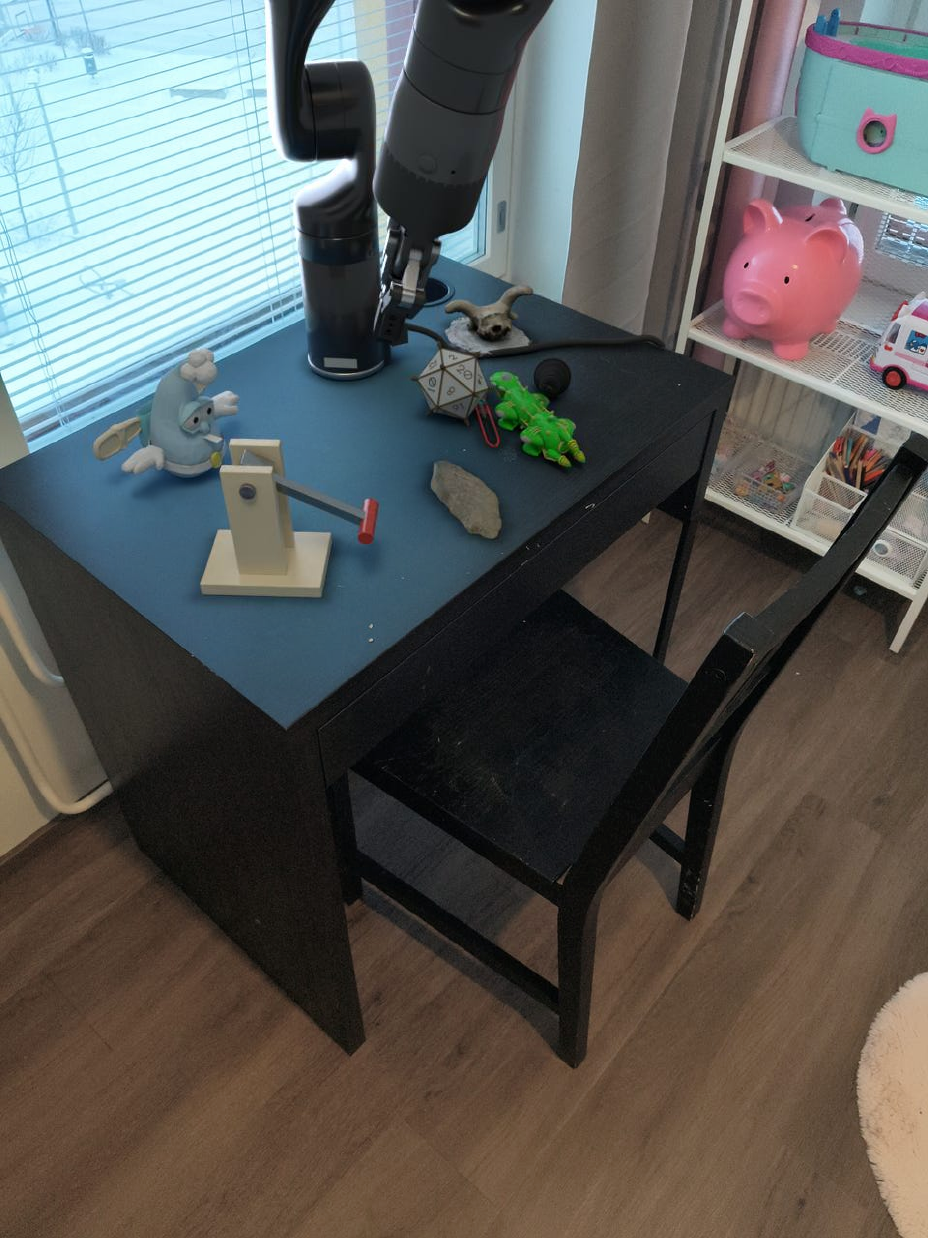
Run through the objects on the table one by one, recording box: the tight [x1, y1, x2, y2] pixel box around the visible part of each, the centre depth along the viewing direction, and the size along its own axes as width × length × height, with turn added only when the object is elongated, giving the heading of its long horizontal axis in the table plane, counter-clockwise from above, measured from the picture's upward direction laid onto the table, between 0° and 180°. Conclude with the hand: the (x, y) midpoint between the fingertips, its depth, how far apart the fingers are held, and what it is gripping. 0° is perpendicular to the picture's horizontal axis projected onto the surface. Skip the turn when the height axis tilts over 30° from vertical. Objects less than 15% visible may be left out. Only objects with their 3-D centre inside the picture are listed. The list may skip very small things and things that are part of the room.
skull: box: [443, 284, 534, 358], centre depth 125 cm, size 10×12×6 cm
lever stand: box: [200, 438, 333, 598], centre depth 90 cm, size 11×8×13 cm
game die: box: [408, 341, 496, 427], centre depth 111 cm, size 9×8×10 cm
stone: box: [430, 460, 502, 540], centre depth 102 cm, size 13×3×5 cm
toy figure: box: [92, 348, 240, 479], centre depth 100 cm, size 17×10×15 cm, turn 151°
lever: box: [238, 449, 380, 546], centre depth 88 cm, size 13×5×2 cm, turn 88°
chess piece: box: [533, 357, 572, 398], centre depth 112 cm, size 4×4×10 cm
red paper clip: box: [474, 393, 501, 448], centre depth 114 cm, size 2×14×1 cm, turn 10°
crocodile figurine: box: [489, 371, 586, 468], centre depth 110 cm, size 7×18×4 cm, turn 27°
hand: (386, 333), depth 82 cm, fingers closed
